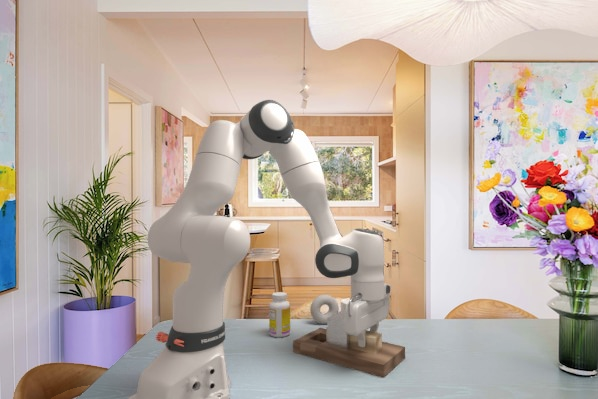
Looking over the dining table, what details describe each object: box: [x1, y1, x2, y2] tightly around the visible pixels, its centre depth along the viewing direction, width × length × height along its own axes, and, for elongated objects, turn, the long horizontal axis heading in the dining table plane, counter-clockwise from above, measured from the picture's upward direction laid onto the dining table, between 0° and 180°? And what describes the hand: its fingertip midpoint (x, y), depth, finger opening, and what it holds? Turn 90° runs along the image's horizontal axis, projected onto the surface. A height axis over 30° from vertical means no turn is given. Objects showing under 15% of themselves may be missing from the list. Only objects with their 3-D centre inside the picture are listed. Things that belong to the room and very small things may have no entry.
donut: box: [309, 294, 339, 325], centre depth 132 cm, size 10×4×10 cm, turn 102°
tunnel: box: [326, 310, 349, 350], centre depth 106 cm, size 8×6×8 cm
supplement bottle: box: [268, 291, 291, 338], centre depth 122 cm, size 7×7×13 cm
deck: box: [292, 327, 406, 378], centre depth 105 cm, size 14×27×3 cm, turn 54°
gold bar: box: [325, 327, 383, 354], centre depth 104 cm, size 4×14×4 cm, turn 54°
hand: (367, 342), depth 102 cm, fingers closed on gold bar, 4 cm apart
